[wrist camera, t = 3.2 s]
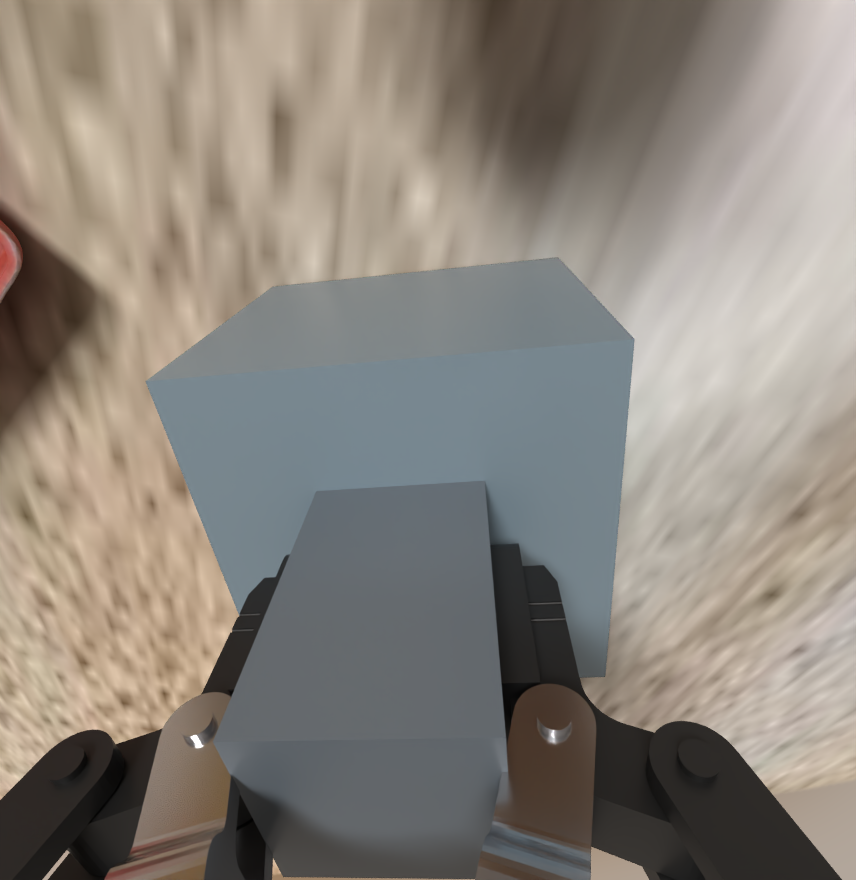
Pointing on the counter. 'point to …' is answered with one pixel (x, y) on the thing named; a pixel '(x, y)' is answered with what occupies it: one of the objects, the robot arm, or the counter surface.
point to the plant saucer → (8, 259)
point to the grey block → (397, 538)
